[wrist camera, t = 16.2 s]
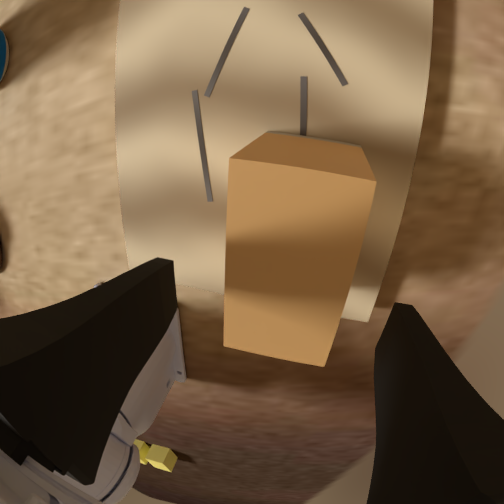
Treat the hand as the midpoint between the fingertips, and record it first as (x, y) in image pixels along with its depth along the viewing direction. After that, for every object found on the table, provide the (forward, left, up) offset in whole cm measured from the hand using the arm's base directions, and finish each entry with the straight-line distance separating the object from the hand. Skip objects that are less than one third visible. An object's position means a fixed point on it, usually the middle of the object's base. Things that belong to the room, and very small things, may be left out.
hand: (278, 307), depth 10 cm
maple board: (+5, +3, -9) cm, 11 cm away
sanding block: (0, 0, -7) cm, 7 cm away
